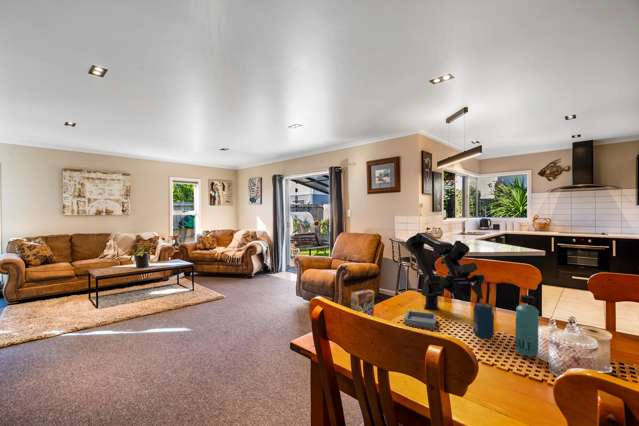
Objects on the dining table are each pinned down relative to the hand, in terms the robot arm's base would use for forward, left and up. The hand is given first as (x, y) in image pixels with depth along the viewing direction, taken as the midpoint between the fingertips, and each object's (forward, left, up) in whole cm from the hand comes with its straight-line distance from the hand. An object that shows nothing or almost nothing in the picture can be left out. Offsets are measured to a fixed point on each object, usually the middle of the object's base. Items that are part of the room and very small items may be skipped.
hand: (472, 299), depth 121 cm
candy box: (+18, -41, -12) cm, 46 cm away
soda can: (+5, +3, -12) cm, 14 cm away
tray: (0, -20, -12) cm, 23 cm away
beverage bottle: (+18, +14, -12) cm, 26 cm away
